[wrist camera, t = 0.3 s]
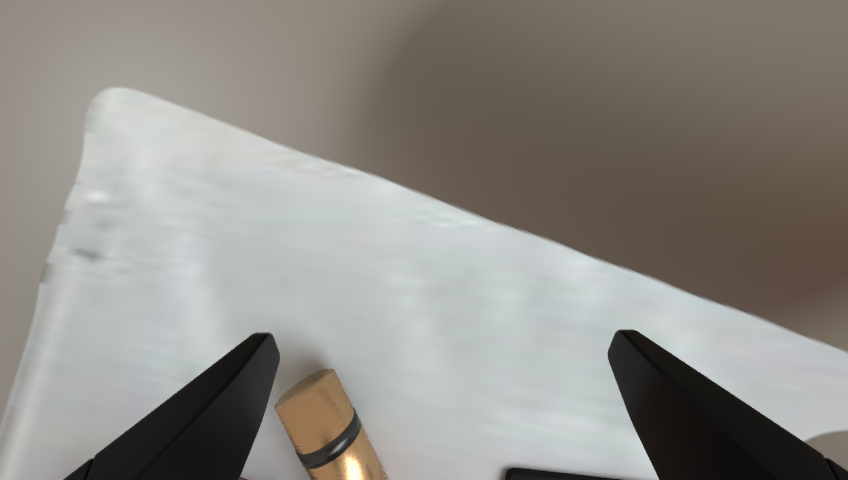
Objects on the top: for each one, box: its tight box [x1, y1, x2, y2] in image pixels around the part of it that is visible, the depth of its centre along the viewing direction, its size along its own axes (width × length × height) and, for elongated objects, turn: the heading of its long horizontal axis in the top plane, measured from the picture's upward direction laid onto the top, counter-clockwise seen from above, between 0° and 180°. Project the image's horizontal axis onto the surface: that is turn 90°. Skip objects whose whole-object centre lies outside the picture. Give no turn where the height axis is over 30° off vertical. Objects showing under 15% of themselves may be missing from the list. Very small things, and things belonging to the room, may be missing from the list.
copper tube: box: [275, 369, 388, 480], centre depth 21 cm, size 11×4×4 cm, turn 24°
